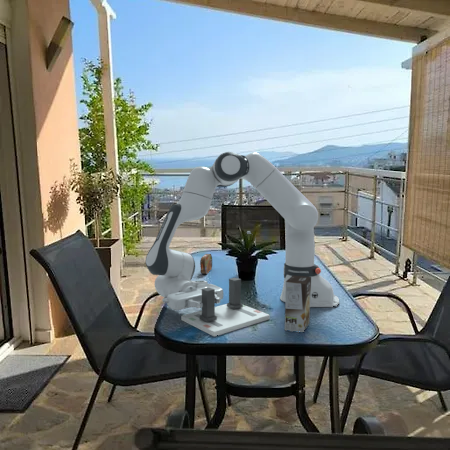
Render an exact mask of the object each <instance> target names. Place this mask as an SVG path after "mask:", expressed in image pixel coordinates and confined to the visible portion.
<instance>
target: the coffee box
mask: <svg viewBox="0 0 450 450" xmlns="http://www.w3.org/2000/svg"><path fill="white" fill-rule="evenodd" d="M310 296H311V277H306V276H294V275H293V276H292V277H291V278H289V279H288V280H287V281H286V300H285V302H284V304H285V306H284V331H287V330H290V331H289V332H293V331H298V332H297V333H299V331H300V332H305V331H306V330H305V329H307V328H308V327H309V325H310V316H311V307H310ZM308 324H309V325H308ZM307 326H308V327H307ZM306 327H307V328H306ZM304 330H305V331H304Z"/></svg>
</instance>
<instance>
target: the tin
mask: <svg viewBox="0 0 450 450" xmlns="http://www.w3.org/2000/svg"><path fill="white" fill-rule="evenodd" d="M199 262H200V263H199V264H200V273H201V274H202V275H208V274H209V273H210V272H211V271H212V269H213V257H212V253H205V254H204V255H203V256H201V258H200V260H199ZM210 270H211V271H210ZM209 271H210V272H209Z"/></svg>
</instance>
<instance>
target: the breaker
mask: <svg viewBox="0 0 450 450" xmlns="http://www.w3.org/2000/svg"><path fill="white" fill-rule="evenodd" d="M241 300H242V279H241V278H238V277H231V278H228V303H226V304H227V307H229V308H232V309H238V308H241V307H243V305H244V304H243V303H242V301H241Z"/></svg>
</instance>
